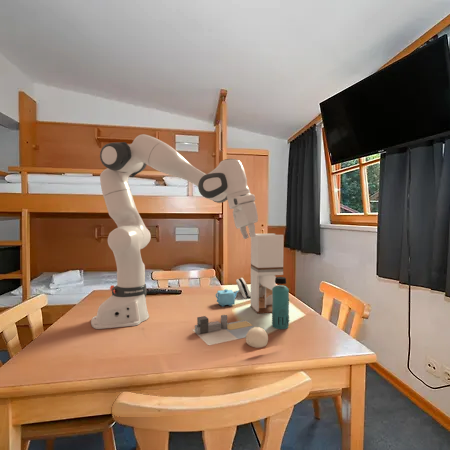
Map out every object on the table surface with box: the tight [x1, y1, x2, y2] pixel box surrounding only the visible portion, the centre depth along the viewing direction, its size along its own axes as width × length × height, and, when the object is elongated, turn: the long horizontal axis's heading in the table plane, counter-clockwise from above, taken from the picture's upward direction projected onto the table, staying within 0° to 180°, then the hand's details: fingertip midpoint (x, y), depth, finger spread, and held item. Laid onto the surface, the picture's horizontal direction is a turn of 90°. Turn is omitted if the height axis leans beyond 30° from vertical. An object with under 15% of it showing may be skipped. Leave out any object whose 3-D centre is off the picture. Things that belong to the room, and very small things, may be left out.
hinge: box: [235, 277, 251, 299], centre depth 160 cm, size 17×5×10 cm, turn 7°
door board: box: [192, 314, 255, 346], centre depth 104 cm, size 22×14×6 cm, turn 117°
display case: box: [250, 233, 285, 315], centre depth 129 cm, size 11×11×35 cm
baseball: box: [245, 326, 269, 349], centre depth 94 cm, size 7×7×7 cm
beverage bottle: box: [271, 276, 290, 330], centre depth 110 cm, size 6×7×20 cm
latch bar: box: [194, 315, 221, 335], centre depth 104 cm, size 9×3×5 cm, turn 117°
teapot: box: [215, 288, 239, 308], centre depth 141 cm, size 12×6×8 cm, turn 103°
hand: (249, 237), depth 106 cm, fingers open, 8 cm apart
